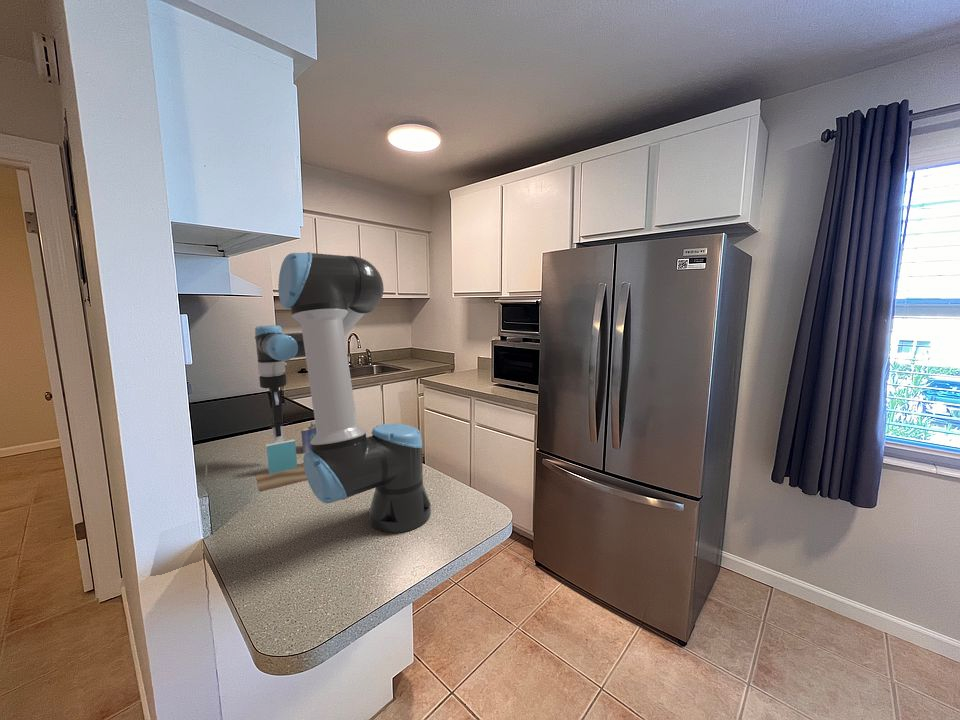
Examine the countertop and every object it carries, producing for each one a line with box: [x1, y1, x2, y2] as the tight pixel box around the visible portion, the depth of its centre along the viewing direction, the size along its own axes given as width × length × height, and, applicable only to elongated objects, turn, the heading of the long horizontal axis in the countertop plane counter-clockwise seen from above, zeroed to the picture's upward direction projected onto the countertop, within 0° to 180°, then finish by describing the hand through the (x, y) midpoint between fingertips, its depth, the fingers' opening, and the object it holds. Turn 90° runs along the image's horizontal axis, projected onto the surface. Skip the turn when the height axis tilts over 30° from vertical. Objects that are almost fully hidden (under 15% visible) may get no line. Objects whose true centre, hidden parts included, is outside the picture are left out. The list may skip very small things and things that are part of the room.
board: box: [255, 462, 308, 493], centre depth 118 cm, size 14×15×1 cm
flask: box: [300, 420, 317, 454], centre depth 139 cm, size 9×3×11 cm, turn 146°
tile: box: [265, 439, 298, 474], centre depth 122 cm, size 2×8×9 cm, turn 124°
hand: (279, 444), depth 126 cm, fingers closed
